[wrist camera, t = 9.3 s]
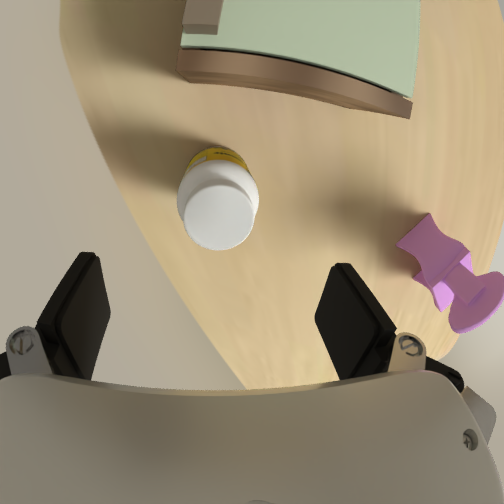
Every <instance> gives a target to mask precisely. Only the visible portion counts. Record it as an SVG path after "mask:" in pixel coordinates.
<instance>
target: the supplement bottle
mask: <svg viewBox="0 0 504 504" xmlns="http://www.w3.org/2000/svg"><path fill="white" fill-rule="evenodd" d="M258 204H259V195H258V190H257V186H256V184H255V181H254V179H253V177H252V176H251V174H250V172H249V170H248V168H247V165H246V164H245V162H244V160H243V159H242V158H241V157H240V155H238V154H237V153H236V152H235V151H233V150H231V149H229V148H226V147H220V146H216V147H209V148H206V149H204V150H202V151H200V152H199V153H198V154H196V155H195V156H194V157H193V159H192V160H191V161H190V163H189V165H188V167H187V169H186V171H185V174H184V176H183V178H182V181H181V183H180V186H179V189H178V193H177V208H178V212H179V215H180V217H181V219H182V221H183V223H184V227H185V230H186V232H187V234H188V235H189V237H190V238H191V239H192V240H193V241H194V242H195V243H197V244H198V245H200V246H202V247H204V248H207V249H211V250H226V249H230V248H232V247H235V246H237V245H238V244H240V243H241V242H243V241H244V240H245V239H246V238H247V236H248V235H249V234H250V232H251V230H252V227H253V224H254V217H255V215H256V212H257V209H258Z"/></svg>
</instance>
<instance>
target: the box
mask: <svg viewBox="0 0 504 504" xmlns="http://www.w3.org/2000/svg"><path fill="white" fill-rule="evenodd" d="M176 71H177V72H178V73H179V74H180V75H182V76H183V77H184V78H185V79H187V80H188V81H189V82H190V83H199V84H216V85H228V86H238V87H246V88H254V89H261V90H268V91H274V92H280V93H286V94H291V95H296V96H301V97H306V98H310V99H315V100H319V101H323V102H327V103H331V104H335V105H338V106H342V107H346V108H349V109H357V110H363V111H370V112H376V113H382V114H387V115H392V116H397V117H402V118H406V119H410V115H411V110H412V104H413V102H411V101H408V100H406V99H404V98H403V96H401V95H399V94H397V93H394V92H392V91H390V90H387V89H385V88H382V87H380V86H377V85H375V84H372V83H370V82H367V81H364V80H361V79H358V78H356V77H353V76H350V75H347V74H343V73H340V72H337V71H334V70H330V69H327V68H323V67H319V66H316V65H312V64H308V63H303V62H299V61H295V60H290V59H285V58H280V57H275V56H269V55H263V54H256V53H249V52H241V51H232V50H220V49H205V48H182V50H179V51H178V58H177V65H176Z"/></svg>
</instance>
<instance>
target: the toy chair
mask: <svg viewBox="0 0 504 504" xmlns="http://www.w3.org/2000/svg"><path fill="white" fill-rule="evenodd" d="M396 246H397V247H399V248H401V249H403V250H405V251H407V252H409V253H410V254H412V255H413V256H414V257H415V258H416V259H417V260H418V262H419V264H420V266H421V269H422V270H421V271H420V272H419V273H418V274H417V275H416V276H415V277H413V279H414V280H415V281H417V282H419V283H421V284H423V285H424V286H425V287H427V288H428V289H429V290H430V291H431V293H432V295H433V299H434V303H435V306H436V307H437V308H438V309H439V311H440V312H442V311H443V310H444V309H445V308H446V307H448V306H449V305H450V303H451V302H452V301H453V302H452V305H451V308H450V313H449V323H450V326H451V329H452V330H453V331H454V332H456V333H466V332H468V331H471V330H473V329H475V328H477V327H479V326H480V325H482V324H483V323H484V322H486V321H487V320H488V319H489V318H490V317H491V316H492V315H493V314H494V313H495V312H496V311H497V309H498V308H499V307H500V305H501V304H502V301H503V300H504V276H503V275H502V274H501V273H500V272H490V273H488V274H484V275H480V276H475V275H474V274H473V270H472V263H471V255H470V251H469V250H468V249H467V248H466V247H465V246H464V245H463V244H462V243H461V242H459V241H457V240H455V239H452V238H450V237H448V236H446V235H445V234H443V233H442V232H441V231H440V230H439V229H438V227H437V226H436V224H435V222H434V220H433V218H432V216H431V214H430V213H429V214H428V215H427V216H426V217H425V218H424V219H422V220H421V221H420V222H419V223H418V224H417V225H416V226H415V227H414V228H413V229H412V230H411V231H410V232H409V233H407V234H406V235H405V236H404V237H403V238H402V239H401V240H400V241H399V242H397V243H396Z"/></svg>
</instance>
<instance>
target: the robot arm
mask: <svg viewBox="0 0 504 504" xmlns="http://www.w3.org/2000/svg"><path fill="white" fill-rule="evenodd" d="M110 313H111V312H110V306H109V301H108V297H107V293H106V288H105V284H104V279H103V274H102V269H101V263H100V258H99V257H98V256H96V255H95V253H93V252H81V253H79V255H78V256H77V258H76V259H75V261H74V262H73V263H72V265H71V267H70V268H69V270H68V271H67V272H66V274H65V276H64V277H63V279H62V280H61V282H60V284H59V285H58V287H57V288H56V290H55V291H54V293H53V295H52V296H51V298H50V300H49V301H48V303H47V305H46V306H45V308H44V310H43V312H42V314H41V316H40V317H39V319H38V321H37V325H36V327H35V328H32V327H29V326H23V327H20V328H18V329H16V330H14V331H13V332H12V333H11V334H10V335H9V337H8V339H7V342H6V352H4V353H2V354H0V504H504V489H503V486H502V483H501V480H500V477H499V474H498V471H497V468H496V465H495V462H494V459H493V457H492V454H491V452H490V450H489V447H488V442H489V439H490V437H491V434H492V431H493V428H494V425H495V422H496V412H495V411H494V408H493V407H492V406H491V405H490V404H489V403H487V402H486V401H485V400H484V399H483V398H481V397H480V396H479V395H478V394H476V393H475V392H474V391H473V390H472V389H470V388H469V387H468V386H466V387H465V388H464V381H463V378H462V377H461V375H460V374H459V372H457V371H456V370H454V369H452V368H450V367H448V366H446V365H444V364H442V363H440V362H438V361H436V360H434V359H432V358H429V357H427V356H426V347H425V345H424V343H423V342H422V341H421V340H420V339H419V338H418V337H417V336H415V335H413V334H411V333H405V332H403V333H399V334H398V335H397V336H396V334H395V333H394V332H395V331H396V329H397V328H396V326H395V325H394V323H393V322H392V320H391V319H390V318H389V316H388V315H387V313H386V312H385V310H384V309H383V307H382V306H381V305H380V303H379V302H378V300H377V299H376V298H375V296H374V295H373V293H372V292H371V291H370V289H369V288H368V287H367V285H366V284H365V282H364V281H363V280H362V278H361V277H360V276H359V274H358V273H357V272H356V270H355V269H354V268H353V267H352V265H351V264H350V263H336V264H335V266H332V267H331V269H330V272H329V275H328V278H327V281H326V284H325V287H324V290H323V293H322V296H321V299H320V302H319V304H318V307H317V310H316V313H315V323H316V325H317V327H318V330H319V332H320V334H321V337H322V339H323V341H324V344H325V346H326V348H327V351H328V353H329V355H330V358H331V360H332V362H333V365H334V367H335V369H336V372H337V374H338V377H339V379H340V380H339V381H333V382H326V383H319V384H311V385H303V386H293V387H282V388H270V389H253V390H218V391H217V390H214V391H213V390H212V391H211V390H205V391H204V390H176V389H159V388H147V387H136V386H128V385H119V384H112V383H104V382H97V381H91V378H92V374H93V370H94V366H95V363H96V360H97V356H98V353H99V349H100V346H101V343H102V340H103V337H104V334H105V330H106V327H107V324H108V322H109V319H110Z"/></svg>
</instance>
